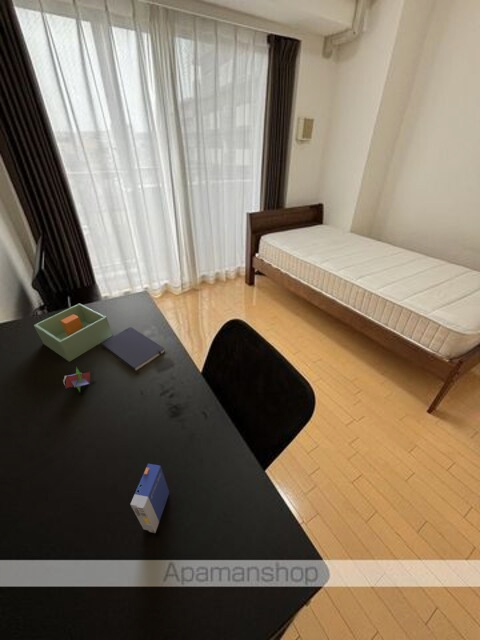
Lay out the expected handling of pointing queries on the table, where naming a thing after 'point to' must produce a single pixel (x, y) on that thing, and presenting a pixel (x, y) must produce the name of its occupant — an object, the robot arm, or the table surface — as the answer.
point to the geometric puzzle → (77, 379)
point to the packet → (71, 324)
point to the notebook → (133, 348)
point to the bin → (81, 340)
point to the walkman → (150, 498)
